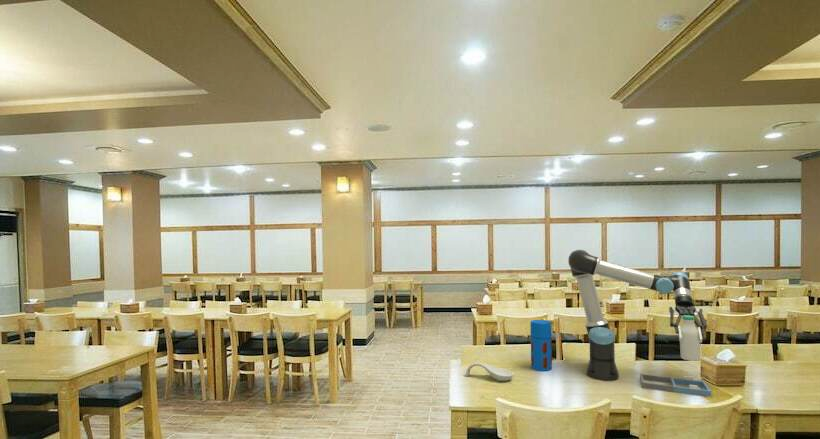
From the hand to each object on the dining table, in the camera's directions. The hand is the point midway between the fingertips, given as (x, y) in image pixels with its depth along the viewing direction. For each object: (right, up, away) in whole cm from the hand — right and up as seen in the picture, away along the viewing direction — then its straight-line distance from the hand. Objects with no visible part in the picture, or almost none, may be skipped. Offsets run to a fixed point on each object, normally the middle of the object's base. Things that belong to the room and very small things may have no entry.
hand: (690, 339), depth 193 cm
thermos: (-58, -25, +34) cm, 72 cm away
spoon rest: (-89, -25, +19) cm, 94 cm away
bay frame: (-5, -24, +5) cm, 25 cm away
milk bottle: (+2, -10, +3) cm, 10 cm away
